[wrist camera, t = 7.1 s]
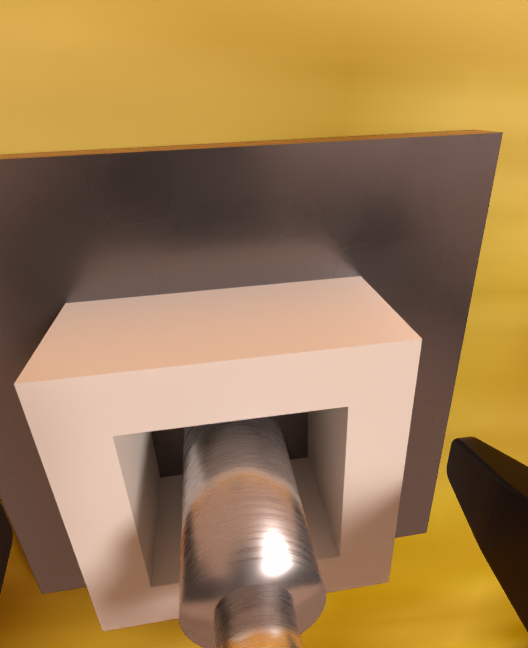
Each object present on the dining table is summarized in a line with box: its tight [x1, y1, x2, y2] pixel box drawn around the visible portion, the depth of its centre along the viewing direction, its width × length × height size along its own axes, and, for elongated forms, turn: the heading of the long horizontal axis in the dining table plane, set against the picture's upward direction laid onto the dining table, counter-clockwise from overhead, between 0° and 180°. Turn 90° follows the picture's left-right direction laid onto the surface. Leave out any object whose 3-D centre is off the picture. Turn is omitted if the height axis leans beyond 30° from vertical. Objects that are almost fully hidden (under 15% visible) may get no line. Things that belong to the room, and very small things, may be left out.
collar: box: [14, 276, 422, 631], centre depth 10 cm, size 6×6×3 cm
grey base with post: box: [0, 130, 503, 648], centre depth 9 cm, size 12×12×8 cm
